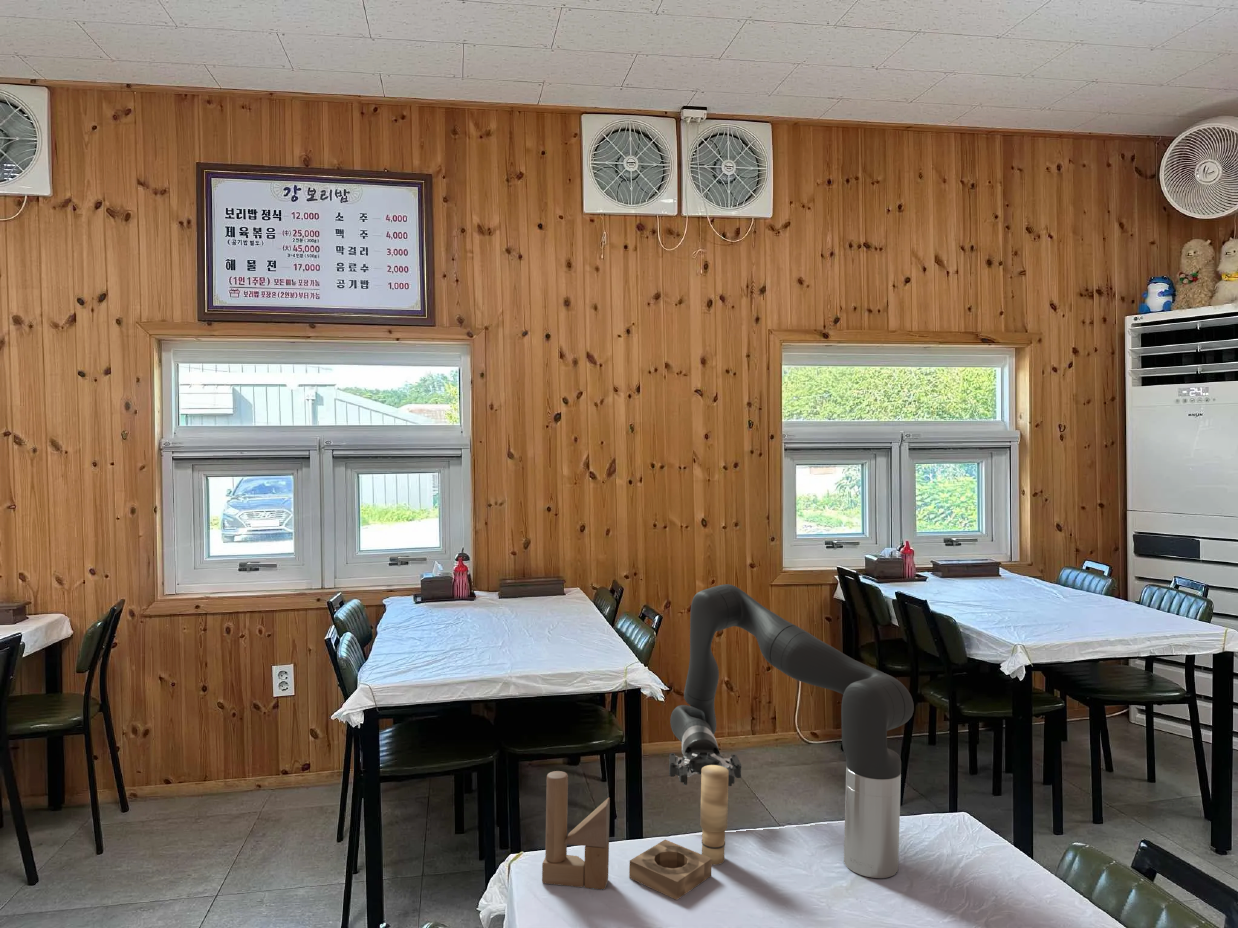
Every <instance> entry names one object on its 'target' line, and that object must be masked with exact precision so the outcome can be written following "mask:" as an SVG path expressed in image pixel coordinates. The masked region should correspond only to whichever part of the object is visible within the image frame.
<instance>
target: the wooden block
mask: <svg viewBox="0 0 1238 928" xmlns="http://www.w3.org/2000/svg"><path fill="white" fill-rule="evenodd" d="M568 788H569V775H568V773H567V772H565V771H560V770H556V771H555V770H554V771H550V772H548V773H547V775H546V791H545V792H546V793H545V794H546V797H545V798H546V800H545V802H546V803H545V854H544V855H545V858H544V859H543V862H542V866H541V868H542V869H541V870H542V871H541V882H542V884H546V885H557V886H565V887H566V886H567V887H576V888H578V887H579V888H585V889H591V888H594V889H593V890H601V889H604V890H605V889H606V887H607V884H608V881H609V866H610V865H609V862H610V861H609V856H610V855H609V854H610V851H609V850H610V803H611V800H610V799H611V798H610V797H608V798H606V799H605V800H604V801H603V802H602V803H601V804H599V805H598V806H597V807H596V808H595V809H593V811H592V812H591V813H589V814H588V816H586V817H585V818H584V819H583V820H582V821H581V822H579V823H578V824H577V825H576V826H575V827H574V828H572V830H570V832H568V799H569V798H568V796H569V795H568V794H569V793H568V792H569V791H568V790H569V789H568ZM568 845H575V846H583V847H584V859H582V858H581V857H580V856H579V855H578V856H577V855H570V854H567V853H568V850H567V849H568V848H567V847H568Z"/></svg>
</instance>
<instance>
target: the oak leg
mask: <svg viewBox="0 0 1238 928" xmlns="http://www.w3.org/2000/svg"><path fill="white" fill-rule="evenodd" d="M728 775H729V771H728V769H727V768H725V767H723V766H718V765H708V766H704V767H703V768H702V769H701V775H700V779H701V780H700V781H701V782H700V815H699V816H700V818H699V819H700V820H699V821H700V822H699V825H700V828H701V829H702V834H701V835H702V836H701V837H702V838H701V854H702V855H704V856H707V857H709V858H711V859H712V865H713V866H716V865H721V864H723V863H724V862H725V850H726V849H725V848H726V847H725V845H726V841H725V840H726V831H727V829H728V814H729V813H728V811H729V809H728V808H729V806H728V805H729V804H728V803H729V786H728Z"/></svg>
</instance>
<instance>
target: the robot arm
mask: <svg viewBox="0 0 1238 928" xmlns="http://www.w3.org/2000/svg"><path fill="white" fill-rule="evenodd" d="M690 604H691V605H690V617H689V623H690V624H689V626H690V627H689V661H688V662H689V663H688V669H687V675H686V680H685V686H684V689H683V690H684V691H683V692H684V693H683V699H684V700H685V702H686V703H687V705H686V704H681V705H677V706H676V707H675V708H674V709H673V710H672V711H671V713H670V714H671V715H670V718H669V719H670V723H669V724H670V728H671V732H672V733H673V735H674V737H675V738H676V739H677V740H678V741H680V742H681V753H682V757H681V756H680V757H679V756H678V755H676V754H675V753H674V752H672V753H671V752H670V753H669V760H668V763H669V764H668V767H669V769H668V776H669V777H672V778H674V777H676V776H678V780H679V781H678V782H680V783H682V785H683V786H688V777H689V778H690V777H693V776H694V775H700V776H701V769H702V768H703V767H704V766H708V765H718V766H723V767H725V768H727V769H728V771H729V775H728V787H732V785H734V784H735V782H736V779H741V778H742V766H743V764H742V763H741V761H740V760H739V757H738V756H737V755H738V754H731V755H730V756H729V757H728V758H727V757H725V758H724V756H723V755H721V752H720V749H719V746H718V742H717V739H716V737H715V733H716V731H717V719H716V712H715V697H716V694H717V689H718V684H719V678H720V677H719V676H720V672H719V670H720V669H719V666H718V663H717V660H716V659H715V657H714V655H713V651H712V642H713V639H714V636H715V635H716V632H719V631H723V630H725V629H726V630H727V629H730V628H732V627H738V628H740V629H743V630H744V631H746V632H747V633H749V634H751V635H752V636H754V637H755V639H756V642H757V645H758V647H759V649H760V652H761V654H762V656H763V658H764V659H765V660H766V662H767V663H768V664H770V665H771V666H772V667H774V668H776V669H777V670H778V671H781V673H784V675H786V676H789V677H790V678H791V679H794V680H796V681H798V682H801V683H805V684H807V685H812V686H814V687H819V688H823V689H827V690H830V691H833V692H836V693H838V694H841V695H842V698H841V699H842V700H841V709H840V710H841V711H840V713H841V714H840V715H841V741H842V742H841V745H842V749H843V753H844V755H845V760H846V762H845V763H846V764H845V765H846V768H845V769H846V770H845V799H844V801H845V803H844V805H845V808H844V835H843V836H844V840H843V842H844V843H843V847H844V848H843V863H844V865H845V866H846V867H847V868H848V869H849V870H850V871H851V872H854V873H856V874H858V875H860V876H863V877H868V878H873V879H874V878H875V879H885V878H886V879H887V878H890V877H893V876H895V875H896V874H897V873H898V871H899V854H900V853H899V850H900V819H901V817H900V816H901V784H902V783H901V780H902V779H901V778H902V774H901V773H902V760H901V756H900V755H899V754H898V752H896V751H895V750H893V749H891V748H888V735H887V734H888V731H890V730H894V729H896V728H899V727H902V726H903V725H904V724H906V723H908V722H909V720H910V719H911V718H912V717H913V715H914V714H913V713H914V711H915V707H914V701H913V697H912V695H911V693H910V692H909V690H908V689H907V687H906V686H905V685H904V684H903V683H902V682H901V681H900V680H898V679H897V678H895V677H894V676H892V675H889V674H887V673H886V672H885V673H884V672H883V671H881V670H879V669H876V668H874V667H871V666H869V665H867V664H864V663H862V662H861V661H859V660H855V659H854V658H852V657H850V656H848V655H847V654H845V653H844V652H841V650H839V649H836V648H835V647H834V646H832V645H830V644H828V643H826V642H825V641H822V640H821V639H819V638H817V637H816V636H814V635H813V634H812V633H810V632H808V631H806V630H805V629H802V628H801V627H800V626H798V625H796V624H793V623H792V622H789V621H788V620H786V619H784V618H783V617H782V616H780V615H778V614H777V613H776V612H773V611H772V610H770V609H768V608H766V607H765V606H763V605H762V604H761V603H759V602H758V601H757V600H755V599H754V598H753V597H752V596H750V595H749V594H748V593H746V592H745V591H743V590H742V589H741V588H739V587H737V586H736V585H734V584H729V583H727V584H725V583H723V584H719V585H716V586H712V587H708V588H706V589H702V590H700V591H698V592H696V594H695V595H694V596H693V598H692V601H691V603H690ZM896 872H897V873H896ZM895 873H896V874H895Z"/></svg>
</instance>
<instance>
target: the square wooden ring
mask: <svg viewBox="0 0 1238 928" xmlns="http://www.w3.org/2000/svg"><path fill="white" fill-rule="evenodd" d="M628 870H629V872H628V874H629V875H628V878H629V879H630V880H633V881H636V882H637V883H639V884H642V885H644V886H645V887H647V888H650V889H651V890H654V891H657V892H658V893H661V894H663V895H665V896H666V897H669V898H671V899H673V900H675V901H678V900H679V899H681V897H683V896H685V895H686V894H687V893H689V892H690V891H692V890H693V889H695V888H696V887H698V886H699V885H701V884H702V883H703V882H705V881H707V880H708V879H709V878H710V877H712V859H711V858H709V857H707V856H704V855H702V853H699V852H697V851H694V850H692V849H690V848H687V847H684V846H683V845H680V844H677V843H674V842H673V841H670V840H668V839H664V840H662V841H660V842H658V843H656V844H655V845H654V846H652V847H650V848H648V849H647V850H645V851H643V852H642V853H640V854H638V855H636V856H634V857H633V858H632V859H630V860H629V869H628Z"/></svg>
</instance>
